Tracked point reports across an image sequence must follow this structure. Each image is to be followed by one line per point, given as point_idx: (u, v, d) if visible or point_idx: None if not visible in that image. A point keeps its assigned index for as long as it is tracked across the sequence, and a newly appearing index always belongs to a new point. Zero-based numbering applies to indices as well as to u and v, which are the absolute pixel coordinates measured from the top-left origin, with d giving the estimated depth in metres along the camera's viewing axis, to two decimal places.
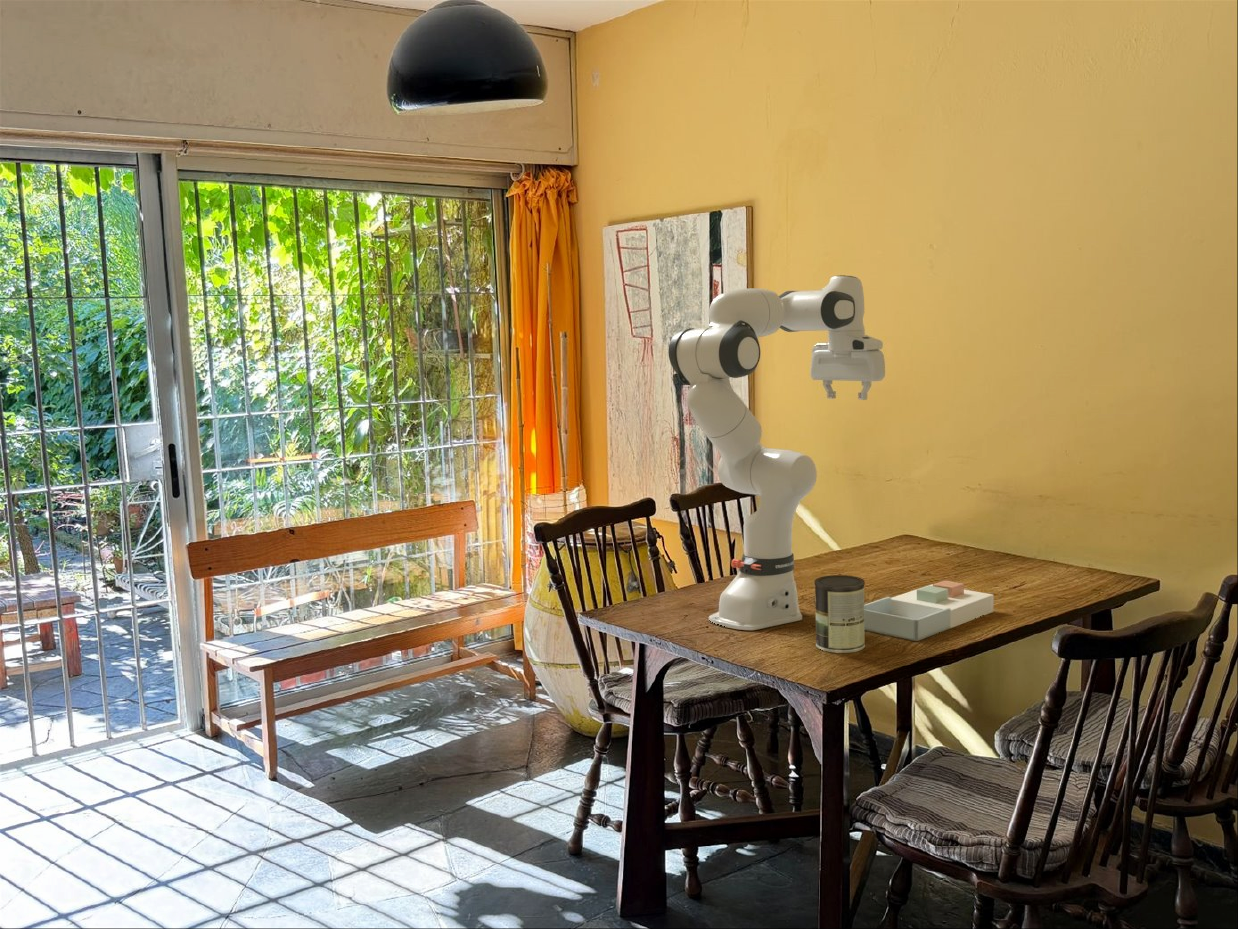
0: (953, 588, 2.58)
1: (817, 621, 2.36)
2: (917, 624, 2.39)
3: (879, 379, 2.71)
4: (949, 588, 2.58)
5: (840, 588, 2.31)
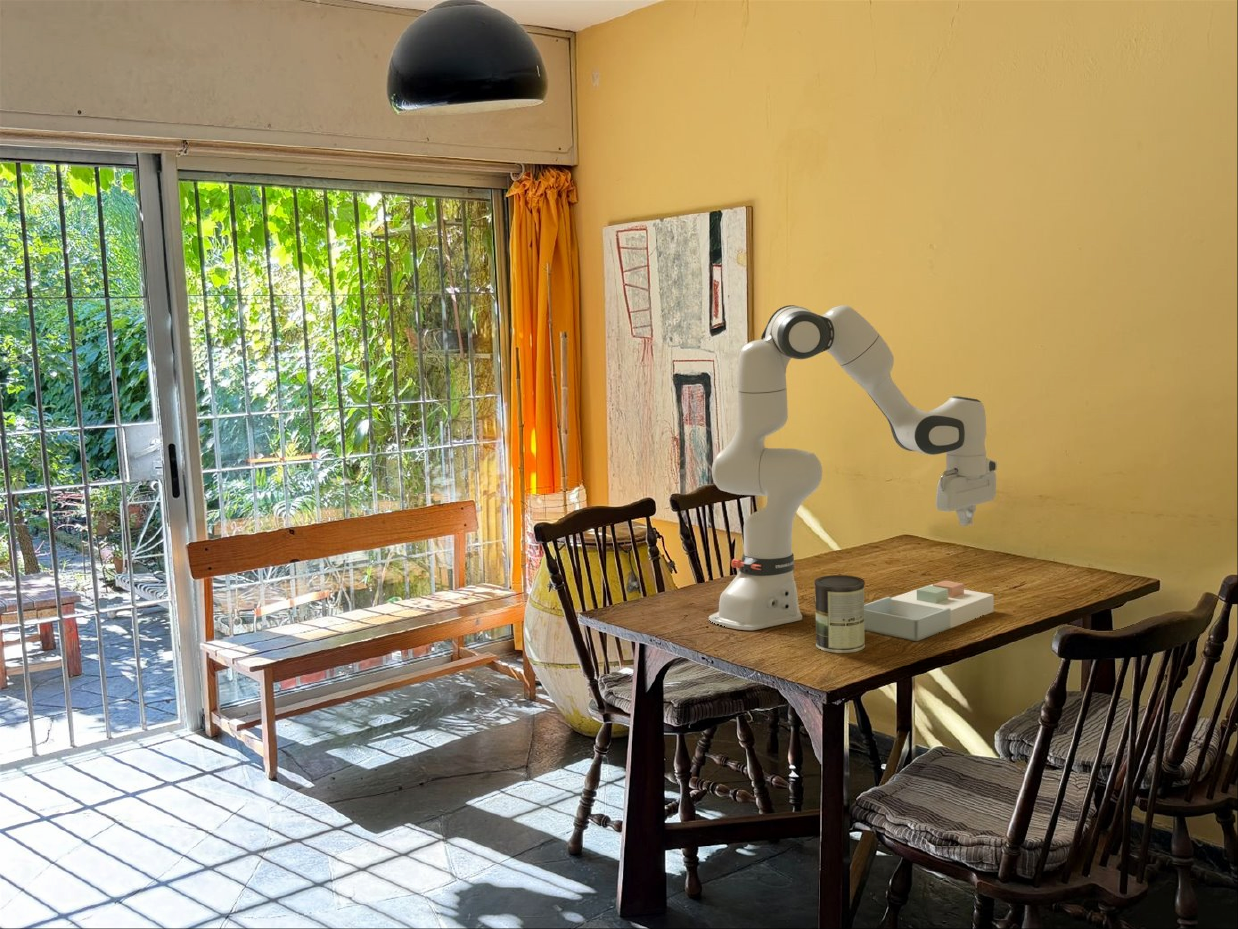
0: (953, 588, 2.58)
1: (817, 621, 2.36)
2: (917, 624, 2.39)
3: None
4: (949, 588, 2.58)
5: (840, 588, 2.31)
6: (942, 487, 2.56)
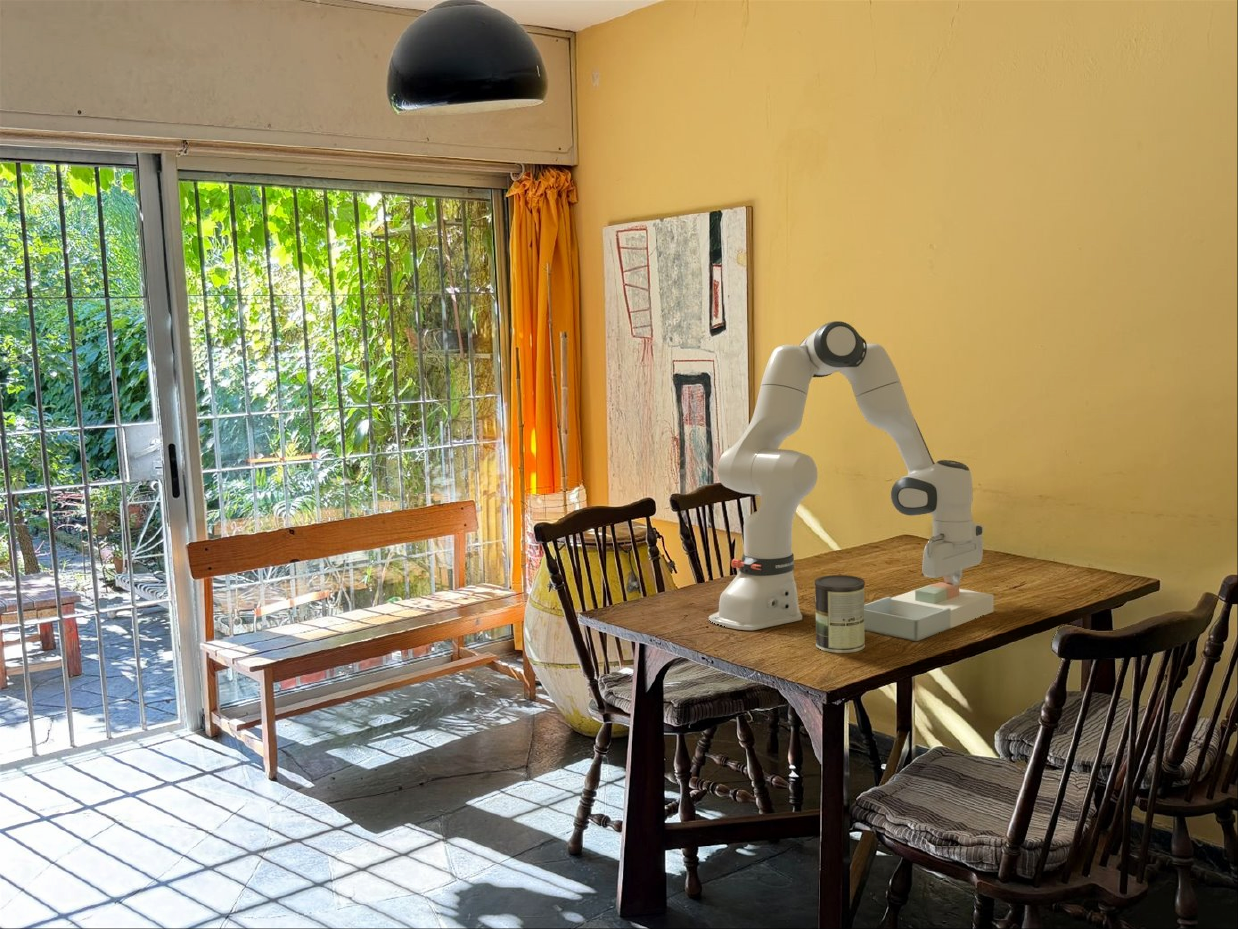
0: (948, 590, 2.56)
1: (817, 621, 2.36)
2: (917, 624, 2.39)
3: None
4: None
5: (840, 588, 2.31)
6: (928, 554, 2.54)
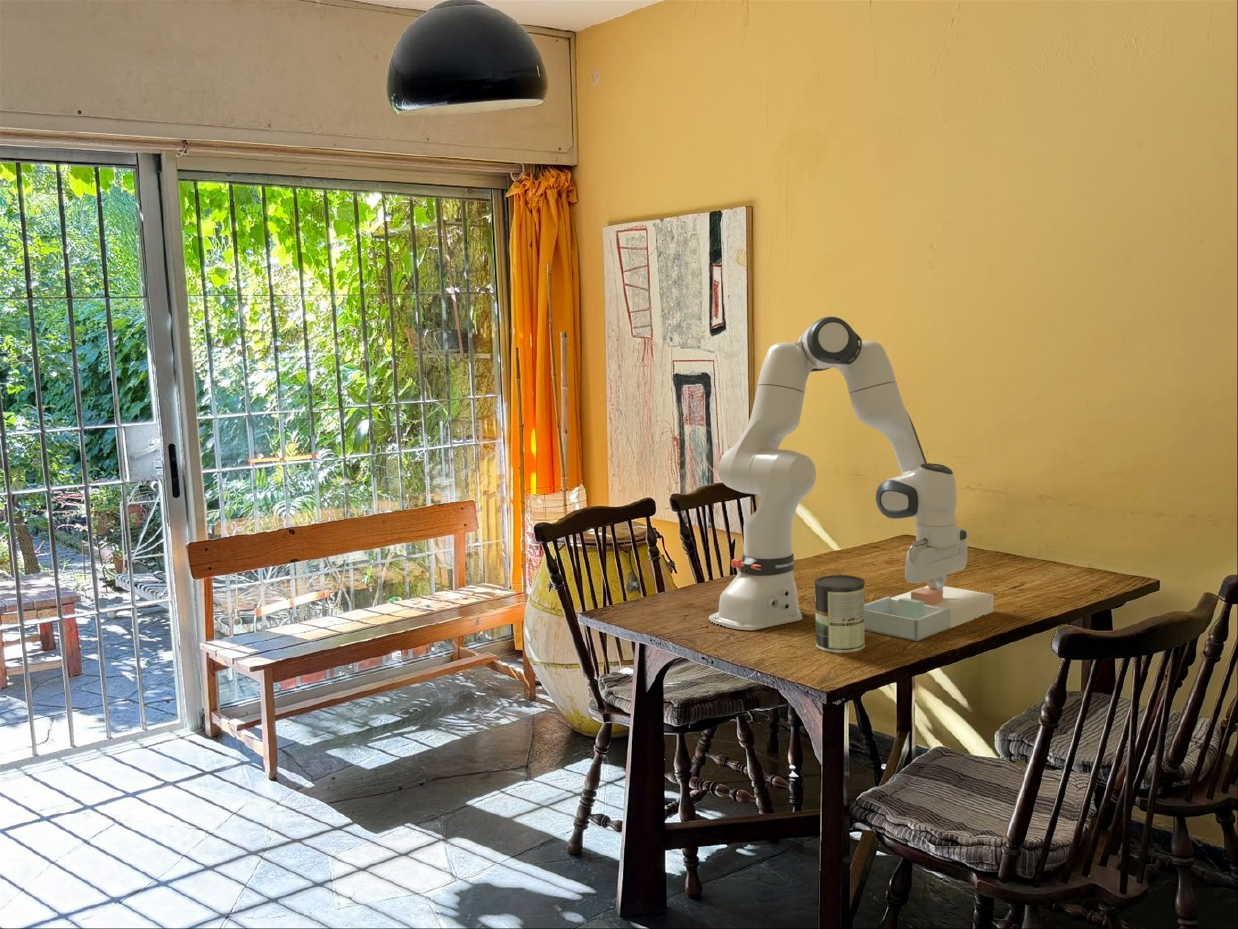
0: (932, 596, 2.52)
1: (817, 621, 2.36)
2: (917, 624, 2.39)
3: None
4: (927, 596, 2.52)
5: (840, 588, 2.31)
6: (911, 559, 2.50)
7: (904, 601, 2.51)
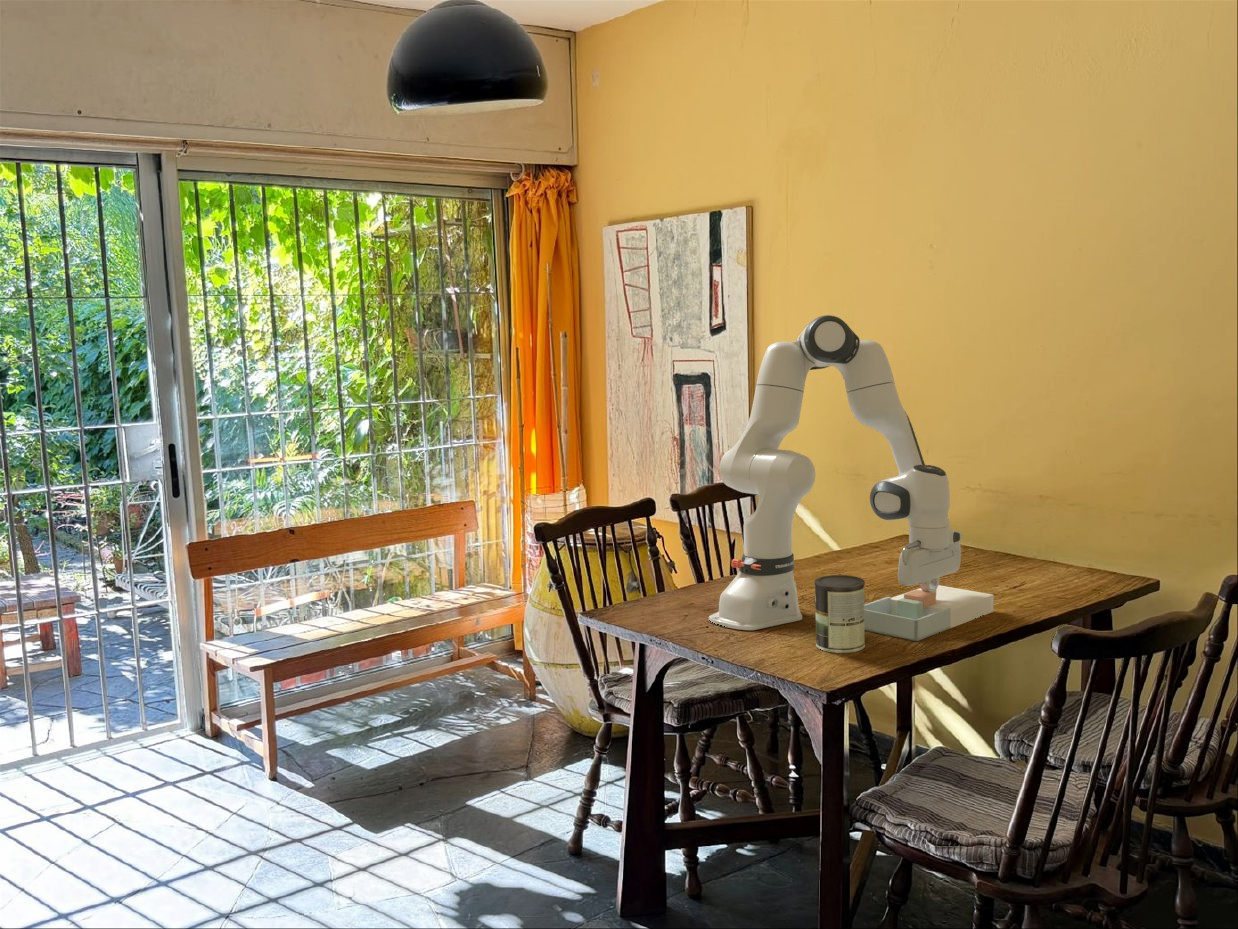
0: (925, 598, 2.50)
1: (817, 621, 2.36)
2: (917, 624, 2.39)
3: None
4: (920, 598, 2.50)
5: (840, 588, 2.31)
6: (904, 561, 2.48)
7: (903, 602, 2.51)
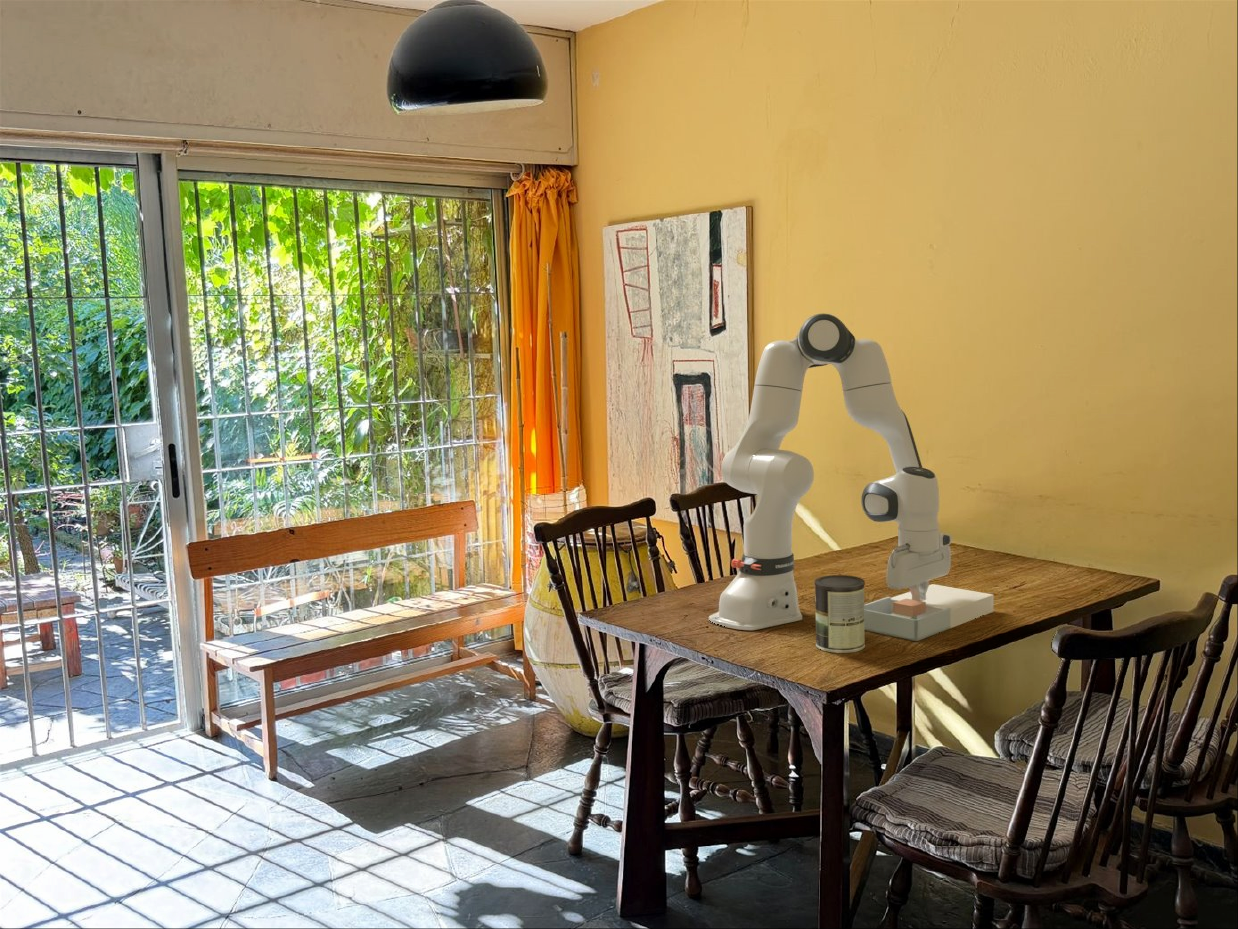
0: (914, 607, 2.47)
1: (817, 621, 2.36)
2: (917, 624, 2.39)
3: None
4: (910, 607, 2.47)
5: (840, 588, 2.31)
6: (892, 564, 2.45)
7: None
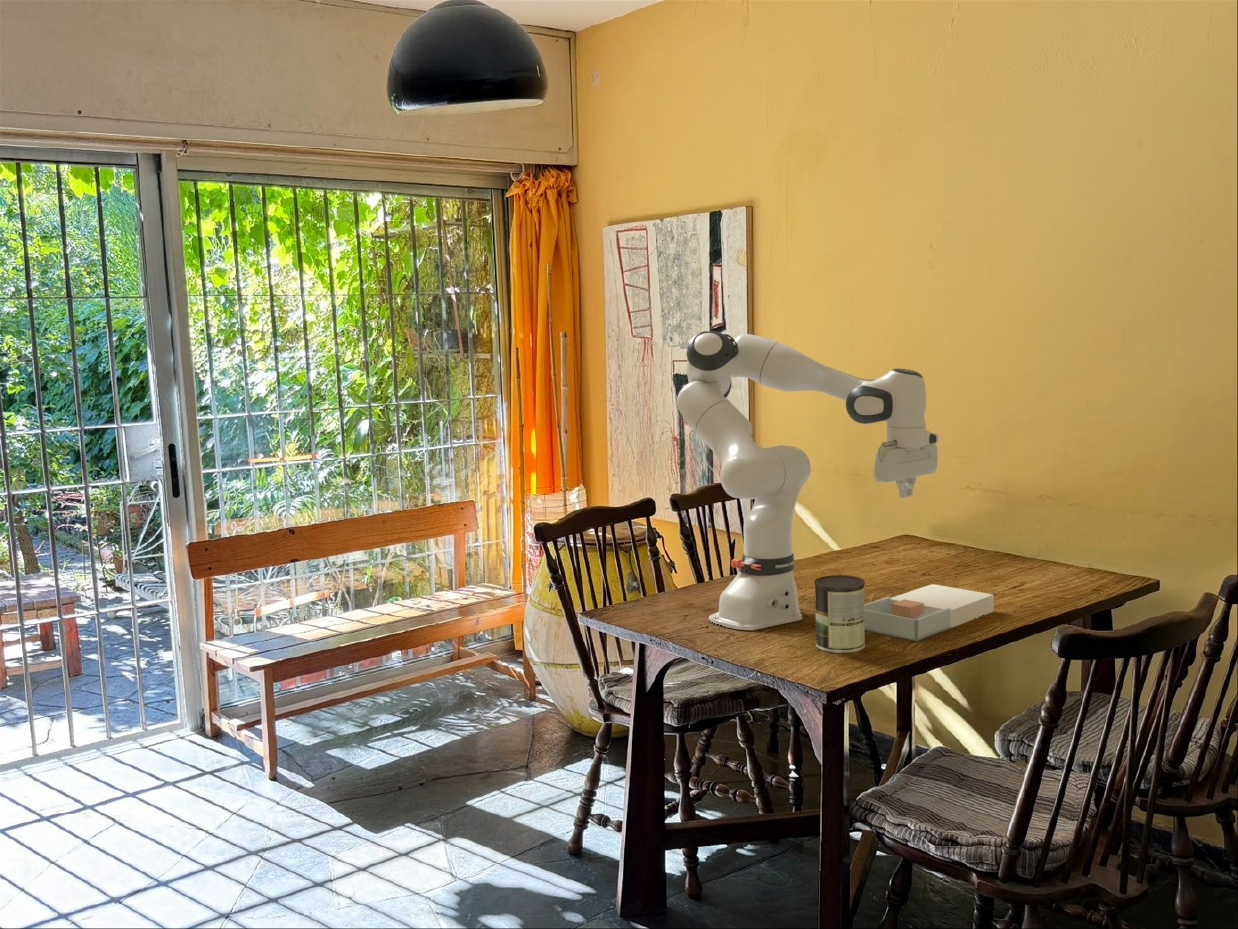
0: (912, 608, 2.47)
1: (817, 621, 2.36)
2: (917, 624, 2.39)
3: None
4: (907, 608, 2.47)
5: (840, 588, 2.31)
6: (880, 458, 2.59)
7: None
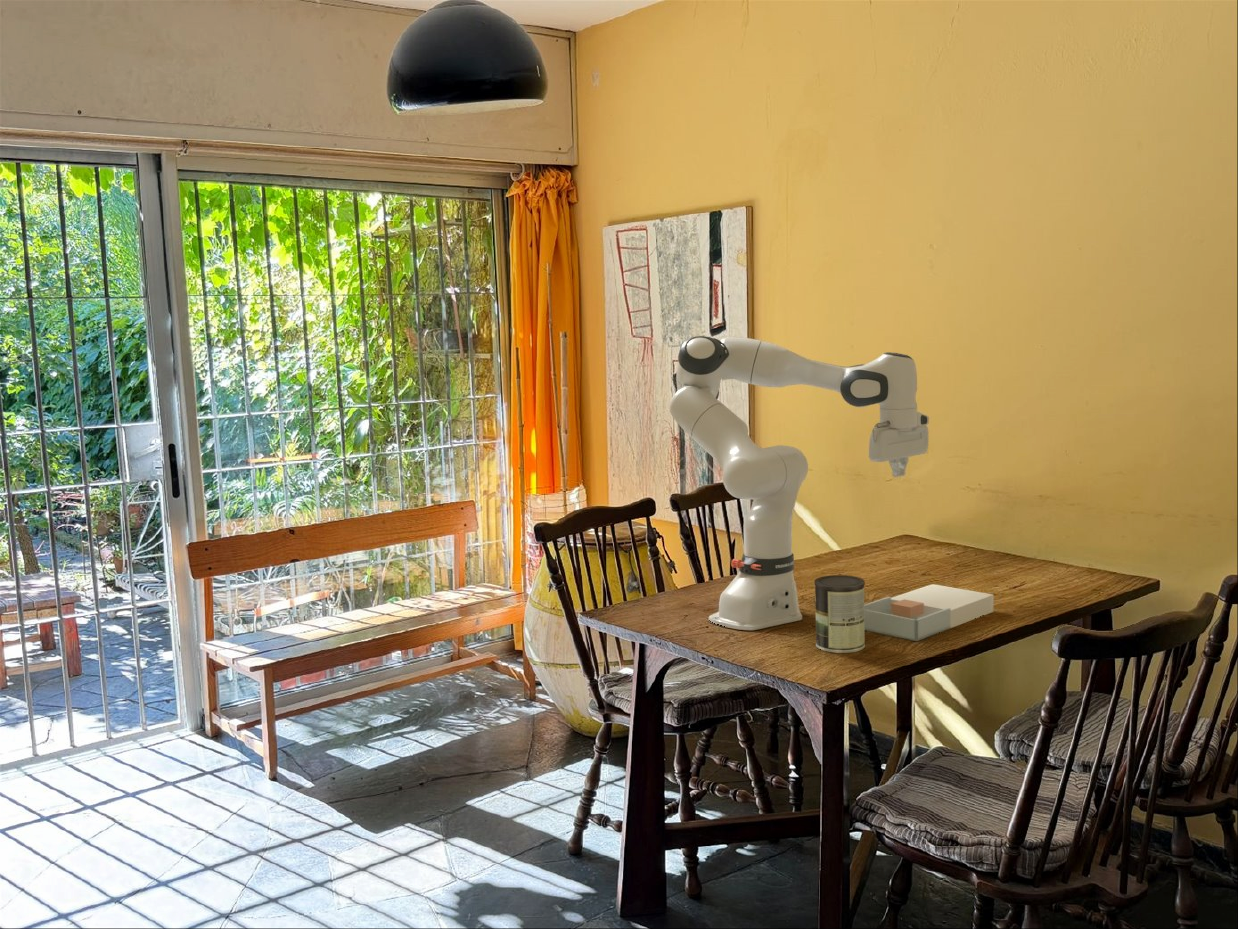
0: (912, 608, 2.47)
1: (817, 621, 2.36)
2: (917, 624, 2.39)
3: None
4: (907, 608, 2.47)
5: (840, 588, 2.31)
6: (874, 438, 2.67)
7: None
